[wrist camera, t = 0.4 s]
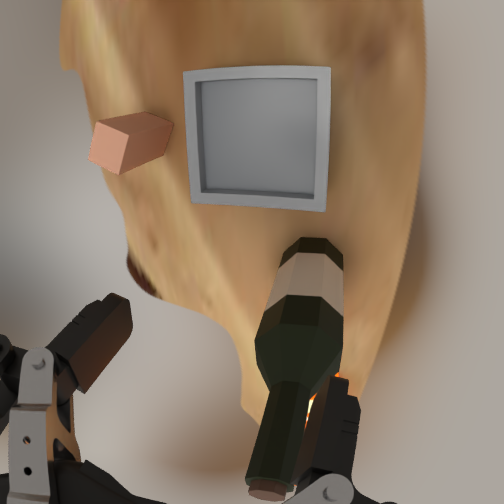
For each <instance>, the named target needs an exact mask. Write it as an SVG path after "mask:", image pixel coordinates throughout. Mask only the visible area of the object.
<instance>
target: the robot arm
mask: <svg viewBox="0 0 504 504" xmlns="http://www.w3.org/2000/svg"><path fill="white" fill-rule="evenodd" d="M132 329H133V322H132V315H131V308H130V302H129V300H128V299H126V298H124V297H121V296H119V295H117V294H115V293H110V294H109V295H107V296H106V297H105V298H104V299H103V300H102V301H100V300H96V301H94V302H92V303H90V304H88V305H86V306H85V308H83V309H82V311H81V312H79V314H78V316H76V317H75V318H74V319H73V320H72V322H70V323H69V324H68V325H67V326H66V327H65V328H64V329H63V330H62V331H61V332H60V333H59V334H58V335H57V336H56V337H55V338H54V339H53V340H52V341H51V342H50V344H49V345H48V346H46V347H45V348H43V347H36V348H33V349H31V350H29V351H28V350H25V349H22V348H18V347H15V346H12V344H11V342H10V341H9V339H8V338H7V337H6V336H5V335H1V334H0V379H1V380H0V435H1V433H2V431H3V430H4V429H5V427H6V426H7V424H8V423H9V441H8V442H9V443H8V445H9V446H8V447H9V449H8V450H9V451H8V454H9V455H8V457H9V473H5V474H0V504H166V503H163V502H159V501H154V500H150V499H146V498H142V497H138V496H135V495H132V494H131V493H130V492H129V491H128V490H126V489H125V488H124V487H123V486H122V485H121V484H119V482H118V481H116V480H115V479H114V478H113V477H112V476H111V475H110V474H109V473H107V472H105V471H104V470H102V469H100V468H99V467H97V466H95V465H94V464H92V463H91V462H89V461H88V460H85V462H84V463H82V462H81V456H80V450H79V446H78V443H77V441H76V437H75V428H74V409H73V392H74V391H75V390H76V389H77V390H79V391H81V392H82V393H84V394H85V393H86V392H87V391H88V389H89V388H90V387H91V385H92V384H93V383H94V381H95V380H96V379H97V377H98V376H99V375H100V374H101V372H102V371H103V370H104V369H105V367H106V366H107V365H108V364H109V362H110V361H111V360H112V358H113V357H114V356H115V355H116V353H117V352H118V351H119V350H120V348H121V347H122V346H123V345H124V343H125V342H126V341H127V339H128V338H129V337H130V335H131V332H132ZM348 386H349V380H348V379H344V378H340V377H337V376H333V375H330V374H329V375H328V376H327V378H326V379H325V381H324V383H323V384H322V386H321V387H320V389H319V391H318V392H317V394H316V395H315V397H314V400H313V402H312V405H311V408H310V412H309V416H308V420H307V424H306V428H305V432H304V435H303V439H302V443H301V447H300V450H299V454H298V457H297V461H296V464H295V468H294V471H293V474H292V478H291V481H290V484H292V485H296V486H297V488H296V492H295V495H294V496H293V497H291V498H290V499H288V500H287V501H285V502H284V503H282V504H380V503H378V502H376V501H374V500H372V499H370V498H368V497H366V496H364V495H362V494H361V493H359V492H358V491H357V490H356V488H355V487H354V485H353V482H352V478H351V473H352V467H353V461H354V455H355V449H356V442H357V434H358V428H359V426H358V425H359V421H360V413H361V409H360V406H359V402H358V399H357V397H354V396H350V395H347V393H348ZM381 504H397V503H394V502H384V503H381Z"/></svg>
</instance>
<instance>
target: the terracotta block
mask: <svg viewBox="0 0 504 504" xmlns="http://www.w3.org/2000/svg"><path fill="white" fill-rule="evenodd" d="M173 125H174V123H172V122H169V121H167V120H165V119H162V118H160V117H157V116H155V115H152V114H150V113H147V112H141V113H135V114H130V115H124V116H119V117H114V118H109V119H105V120H100V121H96V125H95V130H94V134H93V139H92V143H91V148H90V153H89V158H88V160H89V161H91V162H93V163H95V164H97V165H99V166H101V167H103V168H105V169H107V170H109V171H111V172H113V173H115V174H117V175H120V174H123V173H125V172H127V171H129V170H131V169H133V168H136V167H138V166H140V165H142V164H144V163H147V162H149V161H151V160H154V159H156V158H158V157H161V156H163V155H164V152H165V149H166V146H167V143H168V140H169V137H170V134H171V131H172V128H173Z"/></svg>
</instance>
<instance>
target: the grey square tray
mask: <svg viewBox="0 0 504 504" xmlns="http://www.w3.org/2000/svg"><path fill="white" fill-rule="evenodd" d="M183 80H184V104H185V124H186V140H187V155H188V169H189V182H190V194H191V203H199V204H219V205H236V206H252V207H266V208H280V209H293V210H305V211H317V212H326V198H327V182H328V164H329V142H330V106H331V67H320V66H285V65H277V66H242V67H226V68H213V69H203V70H194V71H185V72H183Z"/></svg>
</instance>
